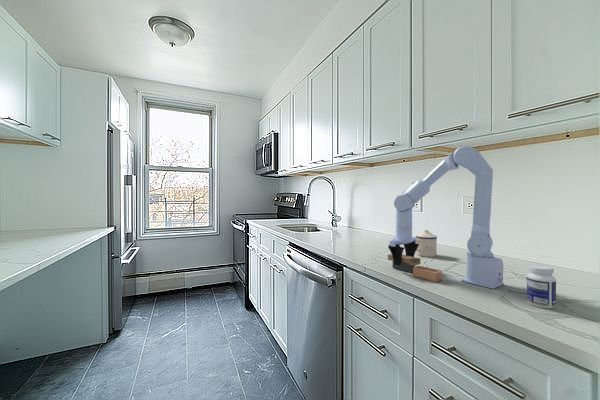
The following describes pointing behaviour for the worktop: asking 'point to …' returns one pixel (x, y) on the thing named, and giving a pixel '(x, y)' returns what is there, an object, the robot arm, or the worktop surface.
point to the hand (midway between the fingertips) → (403, 263)
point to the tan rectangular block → (427, 274)
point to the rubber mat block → (404, 267)
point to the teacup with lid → (426, 244)
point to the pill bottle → (541, 287)
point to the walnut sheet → (406, 260)
